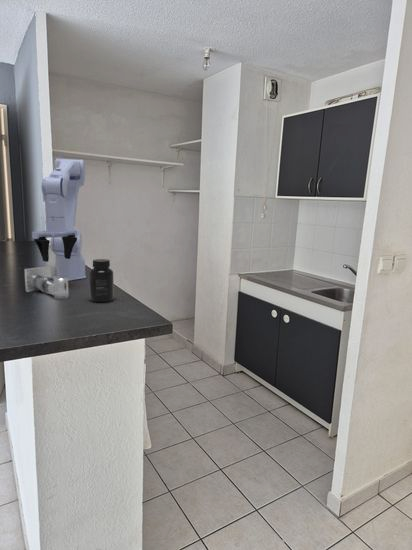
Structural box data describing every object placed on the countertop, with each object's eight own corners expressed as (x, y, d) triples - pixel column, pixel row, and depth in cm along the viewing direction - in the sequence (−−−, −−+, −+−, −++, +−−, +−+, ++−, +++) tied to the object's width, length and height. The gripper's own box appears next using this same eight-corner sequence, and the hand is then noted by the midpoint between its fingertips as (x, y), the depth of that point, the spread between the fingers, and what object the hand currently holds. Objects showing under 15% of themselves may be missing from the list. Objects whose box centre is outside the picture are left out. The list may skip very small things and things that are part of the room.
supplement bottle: (118, 298, 114) (118, 259, 111) (105, 304, 108) (104, 263, 105) (98, 295, 116) (98, 257, 113) (85, 301, 110) (84, 260, 107)
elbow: (71, 297, 112) (70, 278, 111) (58, 300, 109) (58, 280, 108) (56, 292, 117) (56, 273, 116) (44, 294, 114) (43, 275, 113)
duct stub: (25, 291, 117) (24, 269, 115) (49, 287, 123) (48, 266, 121) (36, 295, 113) (35, 272, 112) (60, 290, 119) (59, 269, 118)
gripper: (40, 218, 109) (42, 264, 112) (83, 217, 120) (83, 259, 123) (27, 216, 113) (29, 260, 116) (70, 215, 124) (71, 256, 127)
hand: (56, 259), depth 120 cm, fingers open, 7 cm apart
